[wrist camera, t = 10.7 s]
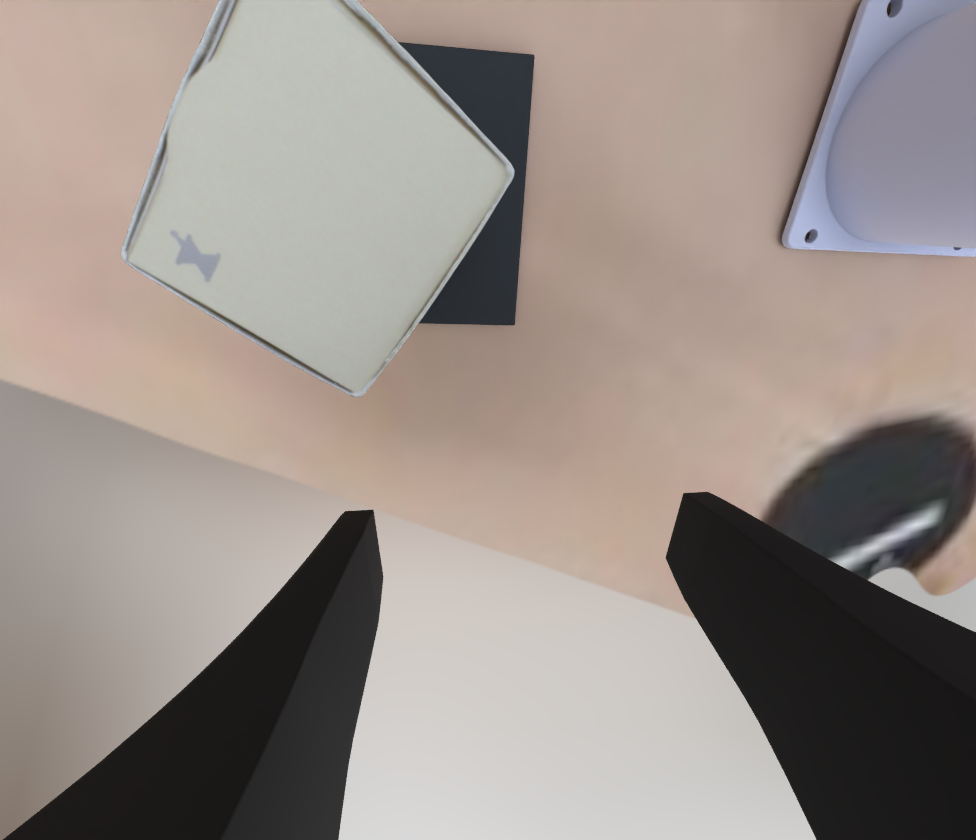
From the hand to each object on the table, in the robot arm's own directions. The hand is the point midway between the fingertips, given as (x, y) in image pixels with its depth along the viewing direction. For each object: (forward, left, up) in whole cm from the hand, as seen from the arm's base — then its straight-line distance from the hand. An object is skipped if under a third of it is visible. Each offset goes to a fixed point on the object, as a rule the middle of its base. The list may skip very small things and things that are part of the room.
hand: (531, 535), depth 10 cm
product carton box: (+4, -7, -10) cm, 13 cm away
